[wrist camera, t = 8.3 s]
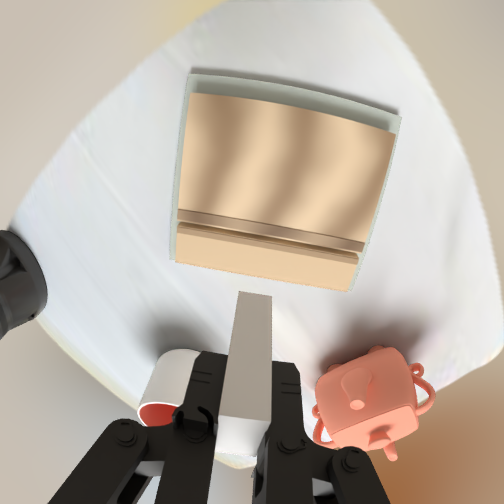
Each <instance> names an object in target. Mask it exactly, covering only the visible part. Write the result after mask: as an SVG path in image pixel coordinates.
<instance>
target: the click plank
mask: <svg viewBox="0 0 504 504" xmlns="http://www.w3.org/2000/svg"><path fill="white" fill-rule="evenodd" d="M395 137H396V134H394V133H391V132H388V131H385V130H382V129H379V128H376V127H372V126H369V125H366V124H362V123H359V122H355V121H352V120H348V119H345V118H341V117H337V116H333V115H329V114H325V113H321V112H317V111H312V110H308V109H303V108H298V107H294V106H288V105H283V104H278V103H272V102H266V101H260V100H254V99H247V98H239V97H232V96H223V95H213V94H203V93H190V98H189V105H188V113H187V120H186V128H185V137H184V146H183V155H182V166H181V177H180V189H179V202H178V213H177V221H182V222H188V223H194V224H200V225H206V226H212V227H217V228H223V229H229V230H235V231H240V232H246V233H252V234H257V235H263V236H269V237H274V238H280V239H285V240H291V241H296V242H301V243H307V244H312V245H317V246H323V247H328V248H333V249H338V250H344V251H349V252H354V253H359V254H361V253H362V251H363V248H364V245H365V241H366V238H367V235H368V232H369V229H370V226H371V223H372V220H373V217H374V214H375V210H376V207H377V204H378V201H379V197H380V194H381V190H382V187H383V183H384V180H385V176H386V173H387V169H388V165H389V161H390V157H391V153H392V149H393V145H394V141H395Z"/></svg>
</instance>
